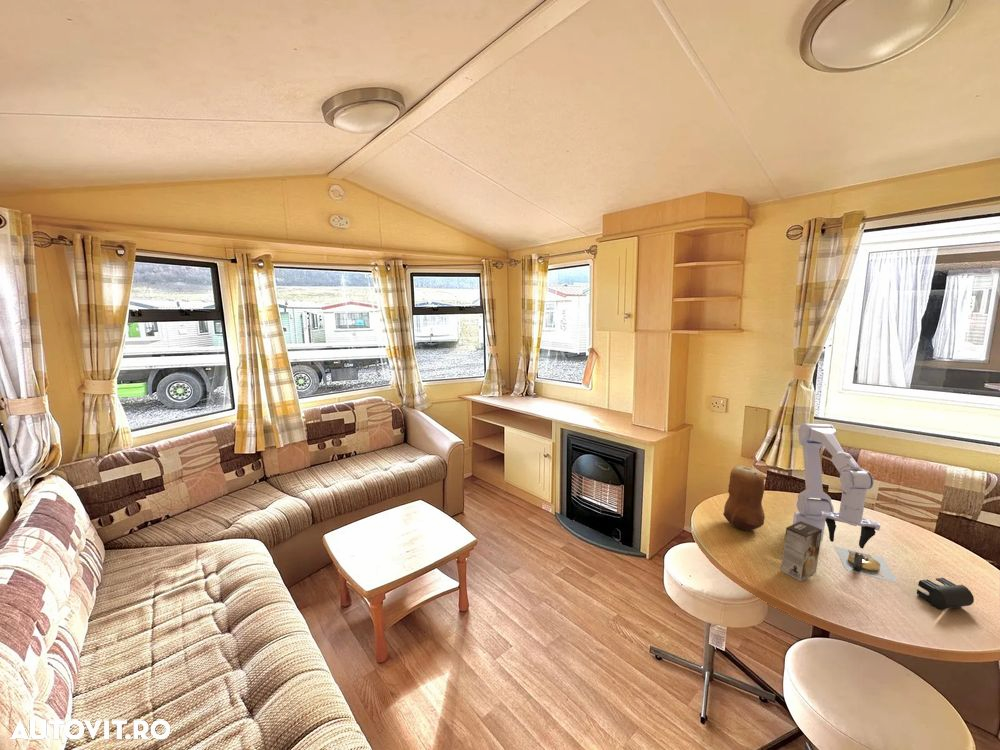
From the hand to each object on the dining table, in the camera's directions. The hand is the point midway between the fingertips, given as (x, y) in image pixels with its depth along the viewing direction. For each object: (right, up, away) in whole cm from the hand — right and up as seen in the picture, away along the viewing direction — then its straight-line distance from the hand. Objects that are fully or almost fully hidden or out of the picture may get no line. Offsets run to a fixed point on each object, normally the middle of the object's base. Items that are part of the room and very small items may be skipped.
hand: (845, 543), depth 132 cm
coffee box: (-16, -10, 0) cm, 19 cm away
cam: (+7, -8, +2) cm, 11 cm away
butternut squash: (-18, -5, +27) cm, 33 cm away
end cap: (+16, -12, -15) cm, 25 cm away
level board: (+9, -9, +3) cm, 13 cm away
